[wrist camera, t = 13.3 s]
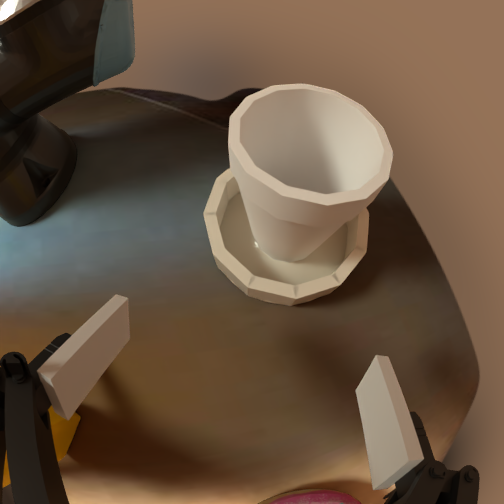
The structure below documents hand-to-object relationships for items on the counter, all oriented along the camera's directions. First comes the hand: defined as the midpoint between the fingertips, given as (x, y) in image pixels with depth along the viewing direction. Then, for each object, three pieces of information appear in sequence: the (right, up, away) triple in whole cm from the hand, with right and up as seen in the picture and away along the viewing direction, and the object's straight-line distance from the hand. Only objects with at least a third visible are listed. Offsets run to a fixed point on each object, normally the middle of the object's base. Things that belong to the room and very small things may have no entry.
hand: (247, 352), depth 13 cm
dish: (+3, +7, +14) cm, 16 cm away
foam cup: (+4, +7, +13) cm, 15 cm away
